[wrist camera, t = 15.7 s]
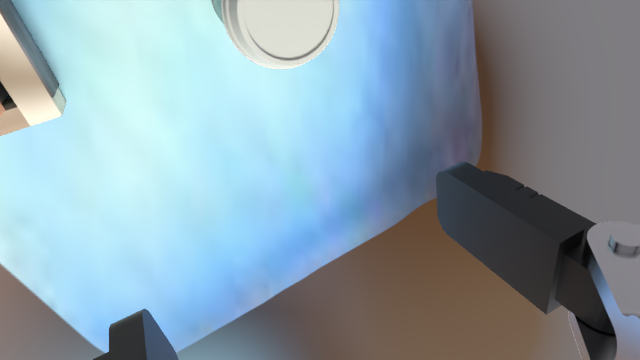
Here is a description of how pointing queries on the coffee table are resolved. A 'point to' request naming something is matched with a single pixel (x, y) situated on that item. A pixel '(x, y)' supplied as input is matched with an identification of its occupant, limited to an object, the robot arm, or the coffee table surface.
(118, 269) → the coffee table surface
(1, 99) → the pinkish brown rectangular block
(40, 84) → the rail
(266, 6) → the coffee cup
